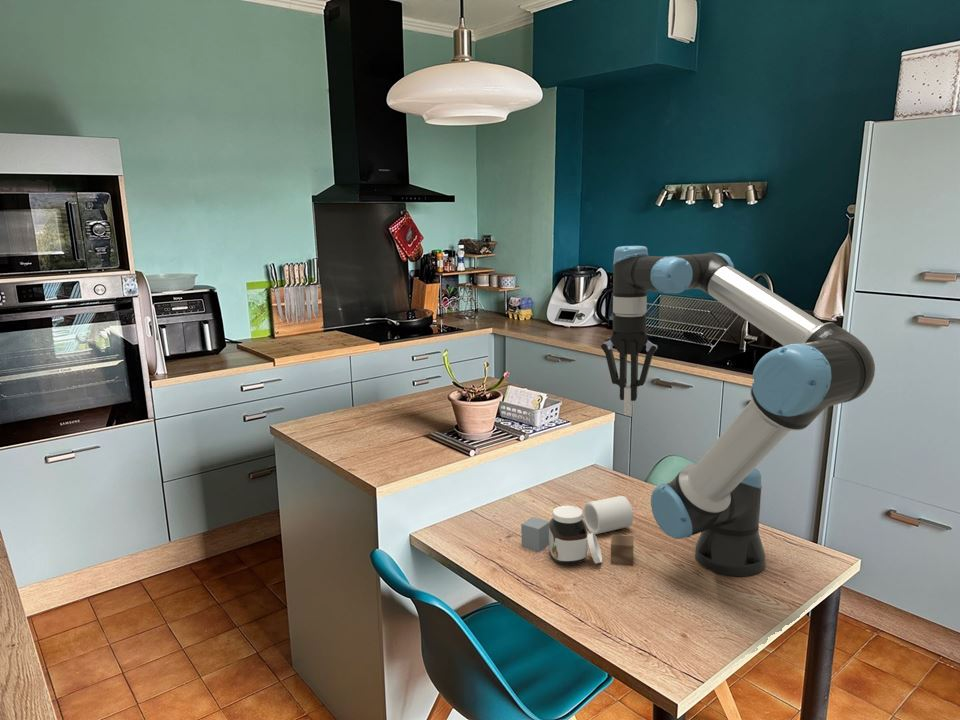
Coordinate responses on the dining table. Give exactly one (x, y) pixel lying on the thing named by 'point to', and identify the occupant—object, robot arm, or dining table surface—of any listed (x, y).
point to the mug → (608, 514)
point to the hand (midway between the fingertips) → (628, 413)
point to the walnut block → (622, 550)
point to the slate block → (535, 534)
